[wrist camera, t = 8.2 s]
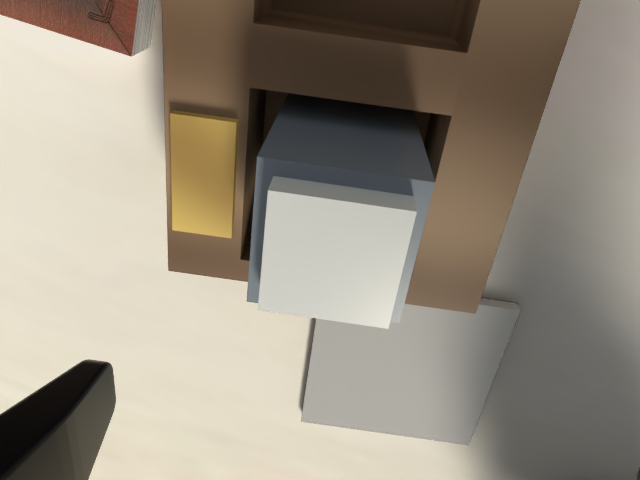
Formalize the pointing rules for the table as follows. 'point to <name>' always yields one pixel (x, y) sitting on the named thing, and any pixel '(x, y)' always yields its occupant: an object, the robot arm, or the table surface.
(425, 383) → the pad
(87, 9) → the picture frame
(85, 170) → the table surface
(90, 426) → the robot arm
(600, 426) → the table surface
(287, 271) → the plug
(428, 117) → the socket block
